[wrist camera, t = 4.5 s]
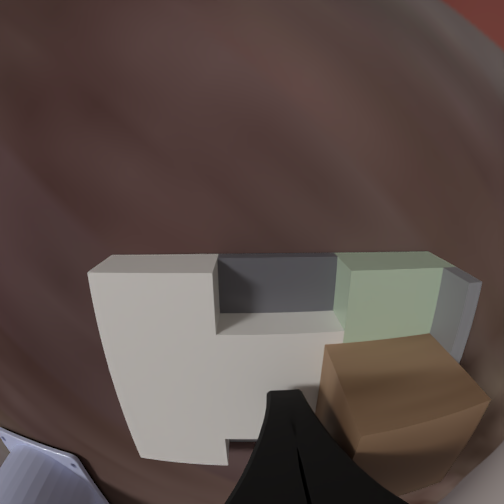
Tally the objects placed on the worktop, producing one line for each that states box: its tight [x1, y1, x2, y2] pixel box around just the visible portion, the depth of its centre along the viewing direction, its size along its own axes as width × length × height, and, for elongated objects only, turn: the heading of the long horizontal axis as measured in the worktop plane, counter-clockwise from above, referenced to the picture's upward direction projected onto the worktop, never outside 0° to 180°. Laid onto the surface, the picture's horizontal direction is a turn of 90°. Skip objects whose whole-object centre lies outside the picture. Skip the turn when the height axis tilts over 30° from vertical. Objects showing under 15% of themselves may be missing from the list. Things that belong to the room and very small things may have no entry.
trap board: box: [87, 251, 482, 465], centre depth 10 cm, size 9×12×4 cm
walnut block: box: [315, 333, 491, 496], centre depth 8 cm, size 4×4×4 cm
